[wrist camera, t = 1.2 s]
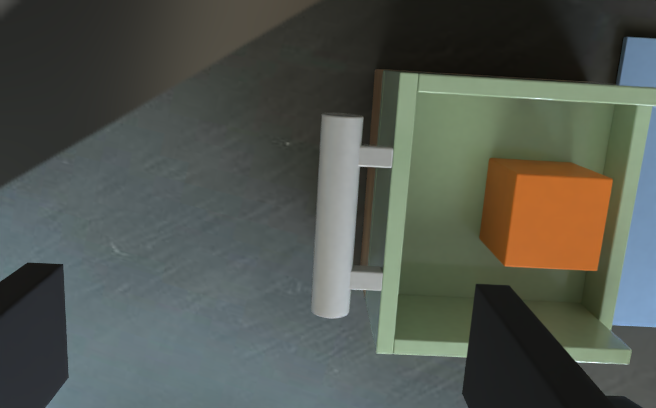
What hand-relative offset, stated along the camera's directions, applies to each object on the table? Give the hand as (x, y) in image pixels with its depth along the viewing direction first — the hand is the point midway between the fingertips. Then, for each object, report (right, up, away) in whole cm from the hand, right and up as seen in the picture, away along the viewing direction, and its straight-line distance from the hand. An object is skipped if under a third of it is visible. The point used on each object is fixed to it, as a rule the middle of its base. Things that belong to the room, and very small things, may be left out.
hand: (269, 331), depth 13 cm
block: (+11, +3, +15) cm, 19 cm away
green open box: (+8, +3, +16) cm, 18 cm away
